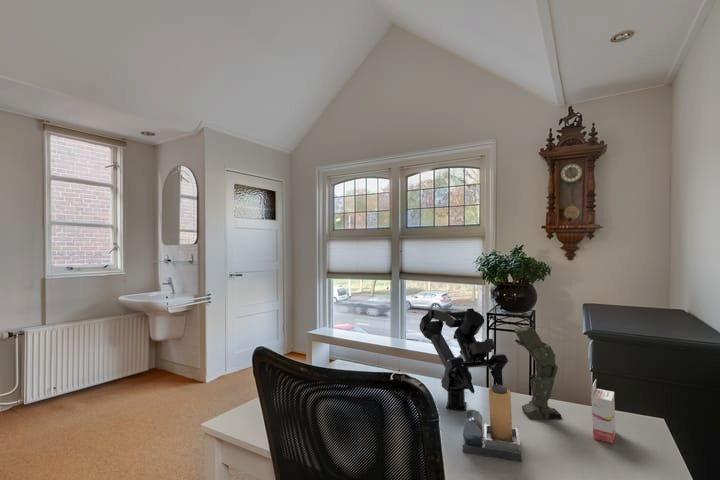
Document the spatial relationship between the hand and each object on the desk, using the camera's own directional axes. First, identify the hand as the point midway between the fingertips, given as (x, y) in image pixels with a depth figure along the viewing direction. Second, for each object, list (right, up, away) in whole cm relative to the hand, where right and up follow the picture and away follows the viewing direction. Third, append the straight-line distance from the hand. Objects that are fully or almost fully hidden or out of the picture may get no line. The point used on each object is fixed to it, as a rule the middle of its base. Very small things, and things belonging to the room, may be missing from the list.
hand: (488, 391), depth 103 cm
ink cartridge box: (+33, -12, -2) cm, 35 cm away
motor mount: (-1, -13, -5) cm, 14 cm away
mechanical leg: (+21, -13, +12) cm, 28 cm away
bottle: (+1, -11, -6) cm, 12 cm away
